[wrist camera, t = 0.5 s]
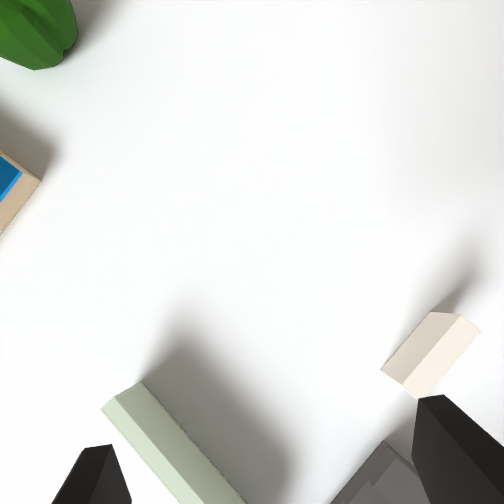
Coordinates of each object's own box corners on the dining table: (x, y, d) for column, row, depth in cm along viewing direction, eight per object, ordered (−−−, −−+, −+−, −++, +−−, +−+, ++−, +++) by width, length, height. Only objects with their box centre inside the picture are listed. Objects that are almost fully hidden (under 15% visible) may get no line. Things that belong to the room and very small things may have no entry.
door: (257, 516, 32) (252, 560, 27) (239, 534, 32) (230, 581, 27) (140, 381, 34) (113, 397, 29) (123, 398, 34) (93, 416, 29)
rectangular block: (208, 605, 32) (191, 675, 26) (192, 589, 32) (172, 655, 26) (446, 325, 33) (482, 330, 27) (429, 311, 33) (461, 314, 28)
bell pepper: (105, 60, 38) (43, -25, 28) (22, 98, 38) (-70, 28, 28) (72, -18, 39) (1, -126, 29) (-9, 20, 39) (-107, -75, 29)
